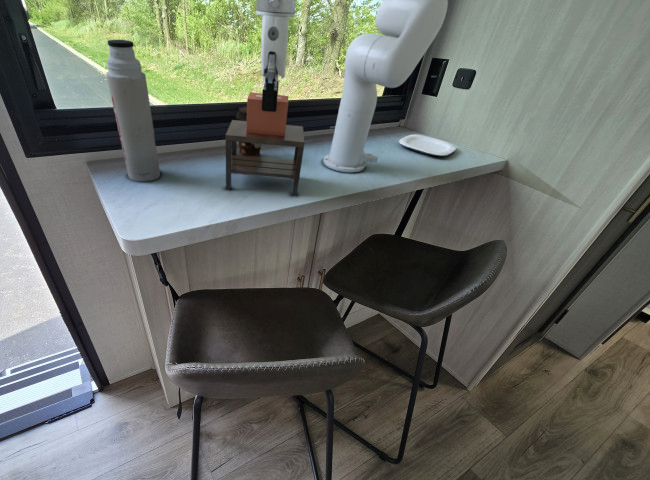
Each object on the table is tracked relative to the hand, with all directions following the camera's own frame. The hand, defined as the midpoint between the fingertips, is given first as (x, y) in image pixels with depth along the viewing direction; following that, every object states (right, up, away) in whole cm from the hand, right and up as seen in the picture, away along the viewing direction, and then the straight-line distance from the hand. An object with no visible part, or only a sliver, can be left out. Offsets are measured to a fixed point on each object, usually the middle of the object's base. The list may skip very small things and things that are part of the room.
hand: (269, 105), depth 74 cm
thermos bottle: (-33, -12, +11) cm, 37 cm away
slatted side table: (-2, -14, +12) cm, 18 cm away
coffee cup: (-6, -1, +26) cm, 26 cm away
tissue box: (-1, -4, +3) cm, 5 cm away
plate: (+57, +9, +43) cm, 72 cm away
